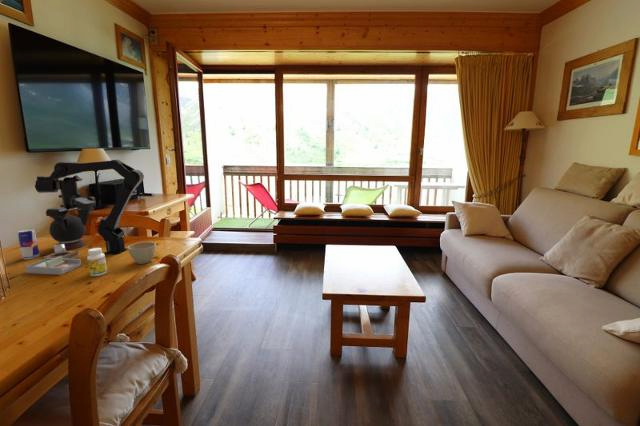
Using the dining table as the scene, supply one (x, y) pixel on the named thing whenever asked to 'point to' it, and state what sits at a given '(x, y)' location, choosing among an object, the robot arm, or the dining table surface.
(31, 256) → the energy drink
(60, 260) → the lid
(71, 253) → the socket board
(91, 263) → the supplement bottle
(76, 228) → the dark ball on stand
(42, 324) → the dining table surface
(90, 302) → the dining table surface
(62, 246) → the peg
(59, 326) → the dining table surface
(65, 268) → the gray box
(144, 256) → the light gray bowl
